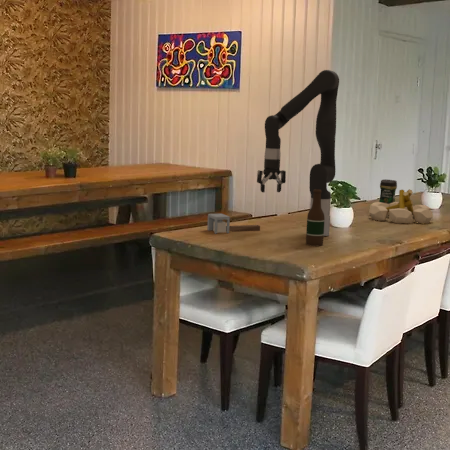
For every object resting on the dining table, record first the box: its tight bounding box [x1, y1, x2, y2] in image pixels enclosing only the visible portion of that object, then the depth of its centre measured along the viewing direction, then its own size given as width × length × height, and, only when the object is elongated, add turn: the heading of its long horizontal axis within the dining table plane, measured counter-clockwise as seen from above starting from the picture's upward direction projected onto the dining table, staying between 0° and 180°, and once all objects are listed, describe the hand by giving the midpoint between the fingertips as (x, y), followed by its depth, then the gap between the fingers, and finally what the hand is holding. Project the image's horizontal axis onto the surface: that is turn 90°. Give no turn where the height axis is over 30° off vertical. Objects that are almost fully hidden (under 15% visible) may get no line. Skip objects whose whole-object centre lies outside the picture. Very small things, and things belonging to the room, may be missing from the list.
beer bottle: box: [305, 189, 325, 247], centre depth 294 cm, size 8×8×24 cm
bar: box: [226, 224, 261, 232], centre depth 322 cm, size 3×17×3 cm, turn 111°
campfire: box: [368, 189, 434, 224], centre depth 374 cm, size 35×34×17 cm
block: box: [212, 220, 227, 234], centre depth 318 cm, size 4×4×4 cm
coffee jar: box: [378, 179, 398, 204], centre depth 402 cm, size 10×8×19 cm
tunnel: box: [206, 212, 231, 234], centre depth 317 cm, size 10×7×8 cm
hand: (270, 192), depth 325 cm, fingers open, 8 cm apart
